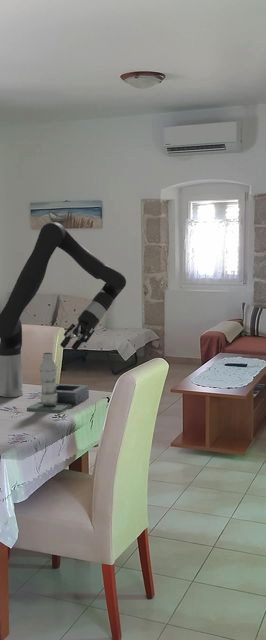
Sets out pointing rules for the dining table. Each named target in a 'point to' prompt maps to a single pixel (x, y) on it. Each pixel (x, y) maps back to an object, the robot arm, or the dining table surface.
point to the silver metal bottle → (48, 380)
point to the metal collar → (71, 393)
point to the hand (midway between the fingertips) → (67, 348)
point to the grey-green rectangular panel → (49, 407)
